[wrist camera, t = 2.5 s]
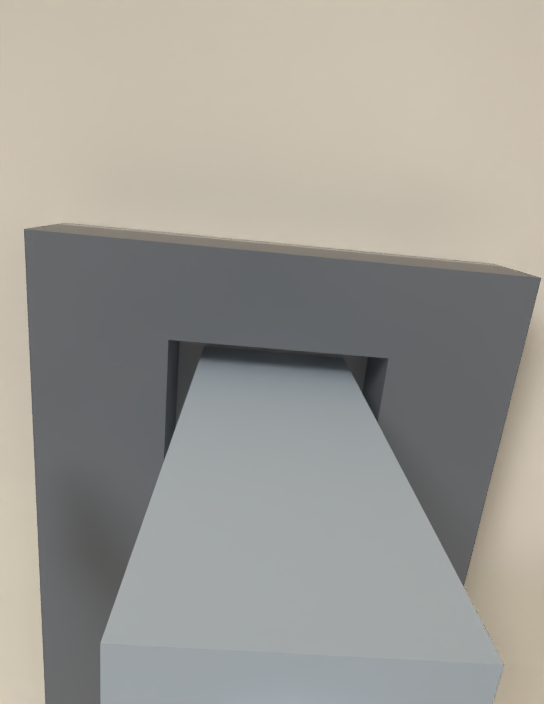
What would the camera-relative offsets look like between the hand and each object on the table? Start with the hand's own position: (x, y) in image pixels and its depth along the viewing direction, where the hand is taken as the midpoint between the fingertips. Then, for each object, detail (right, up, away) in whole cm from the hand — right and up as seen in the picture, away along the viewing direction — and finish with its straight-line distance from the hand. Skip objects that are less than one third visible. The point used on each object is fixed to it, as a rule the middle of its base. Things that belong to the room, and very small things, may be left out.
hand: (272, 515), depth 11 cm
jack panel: (-1, -4, +7) cm, 8 cm away
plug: (0, +1, +5) cm, 5 cm away
